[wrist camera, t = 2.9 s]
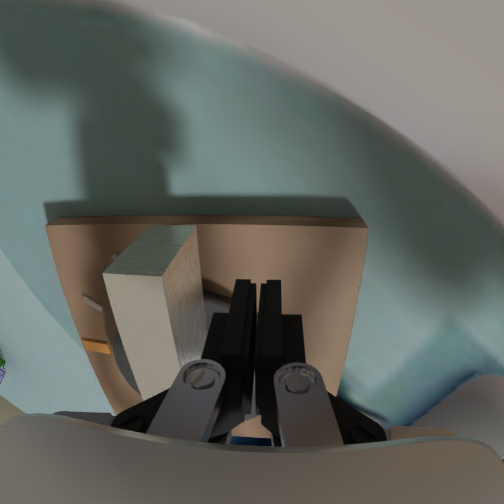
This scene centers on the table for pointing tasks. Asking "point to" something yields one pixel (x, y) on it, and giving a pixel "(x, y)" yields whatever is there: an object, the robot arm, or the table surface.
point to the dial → (161, 308)
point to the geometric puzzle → (0, 372)
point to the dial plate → (222, 281)
